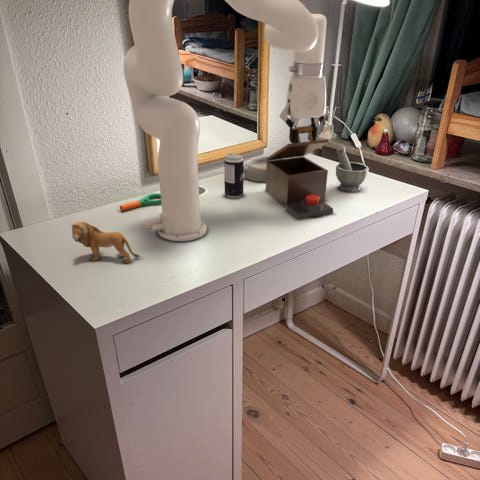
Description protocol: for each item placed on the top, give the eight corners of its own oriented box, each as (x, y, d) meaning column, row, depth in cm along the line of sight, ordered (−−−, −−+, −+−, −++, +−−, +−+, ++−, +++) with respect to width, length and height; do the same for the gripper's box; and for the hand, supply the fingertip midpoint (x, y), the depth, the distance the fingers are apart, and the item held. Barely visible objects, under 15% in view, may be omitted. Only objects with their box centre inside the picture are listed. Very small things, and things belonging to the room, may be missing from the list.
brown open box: (324, 201, 144) (328, 170, 139) (286, 207, 140) (288, 175, 135) (301, 185, 155) (303, 156, 150) (265, 190, 151) (266, 160, 146)
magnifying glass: (159, 195, 148) (159, 190, 147) (171, 201, 144) (171, 195, 143) (115, 208, 139) (115, 202, 138) (127, 214, 136) (126, 208, 135)
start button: (309, 206, 133) (310, 200, 132) (303, 201, 136) (303, 195, 135) (321, 204, 134) (321, 198, 133) (314, 200, 137) (315, 194, 136)
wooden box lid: (329, 142, 135) (326, 122, 135) (288, 146, 131) (285, 126, 131) (303, 156, 150) (301, 138, 149) (266, 160, 146) (263, 142, 145)
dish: (290, 173, 166) (291, 158, 163) (277, 185, 155) (278, 170, 152) (251, 167, 170) (251, 153, 167) (236, 180, 160) (236, 164, 157)
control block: (299, 221, 132) (300, 208, 130) (286, 210, 138) (287, 198, 136) (334, 215, 136) (335, 203, 134) (320, 205, 142) (321, 193, 140)
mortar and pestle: (371, 188, 153) (377, 149, 147) (354, 196, 148) (360, 156, 141) (341, 180, 160) (345, 142, 153) (324, 187, 154) (328, 148, 147)
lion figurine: (74, 263, 112) (66, 227, 107) (80, 252, 116) (73, 217, 111) (137, 263, 112) (133, 227, 107) (141, 253, 116) (137, 217, 111)
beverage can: (243, 199, 146) (243, 158, 139) (224, 199, 146) (223, 158, 139) (243, 192, 150) (243, 153, 143) (225, 192, 150) (224, 152, 143)
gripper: (285, 74, 121) (281, 149, 131) (343, 70, 126) (335, 142, 136) (271, 69, 126) (269, 142, 137) (328, 66, 132) (322, 135, 142)
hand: (302, 141), depth 136 cm, fingers closed on wooden box lid, 5 cm apart
